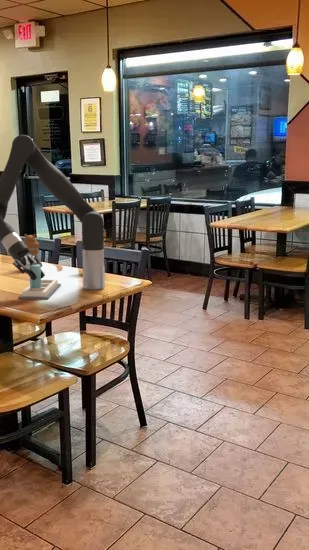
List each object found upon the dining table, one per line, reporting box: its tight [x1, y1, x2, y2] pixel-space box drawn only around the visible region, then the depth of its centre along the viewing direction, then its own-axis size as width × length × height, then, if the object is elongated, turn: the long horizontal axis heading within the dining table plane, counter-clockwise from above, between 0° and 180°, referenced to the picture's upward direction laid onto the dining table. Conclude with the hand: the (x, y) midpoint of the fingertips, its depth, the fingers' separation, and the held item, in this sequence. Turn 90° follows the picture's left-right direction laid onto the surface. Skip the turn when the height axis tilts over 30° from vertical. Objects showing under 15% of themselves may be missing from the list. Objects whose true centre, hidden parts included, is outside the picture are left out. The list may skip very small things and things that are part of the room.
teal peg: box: [29, 264, 42, 288], centre depth 218 cm, size 4×4×9 cm
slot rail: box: [18, 279, 62, 300], centre depth 226 cm, size 12×25×3 cm, turn 178°
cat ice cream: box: [23, 233, 40, 265], centre depth 274 cm, size 9×8×18 cm
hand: (39, 277), depth 217 cm, fingers closed on teal peg, 4 cm apart
